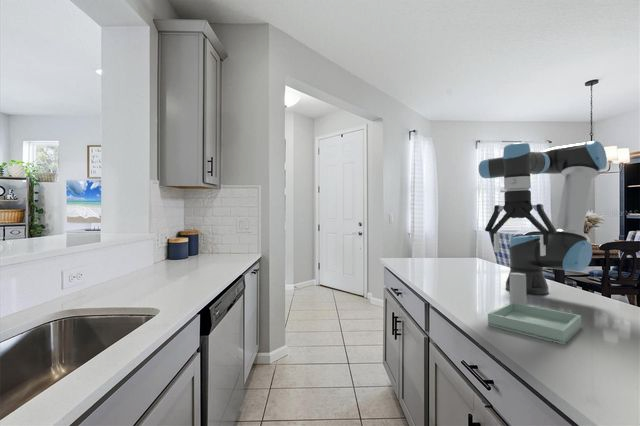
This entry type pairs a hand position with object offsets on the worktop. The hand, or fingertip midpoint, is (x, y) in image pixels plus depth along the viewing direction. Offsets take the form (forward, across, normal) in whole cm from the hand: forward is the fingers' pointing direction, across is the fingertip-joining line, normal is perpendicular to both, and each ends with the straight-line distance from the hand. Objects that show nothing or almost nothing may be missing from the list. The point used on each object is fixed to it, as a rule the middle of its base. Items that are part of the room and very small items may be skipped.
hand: (518, 253), depth 105 cm
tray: (+19, +8, -13) cm, 24 cm away
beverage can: (+19, -1, +2) cm, 20 cm away
